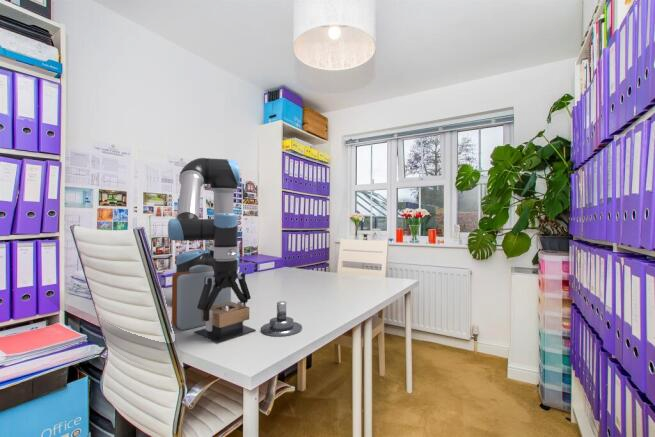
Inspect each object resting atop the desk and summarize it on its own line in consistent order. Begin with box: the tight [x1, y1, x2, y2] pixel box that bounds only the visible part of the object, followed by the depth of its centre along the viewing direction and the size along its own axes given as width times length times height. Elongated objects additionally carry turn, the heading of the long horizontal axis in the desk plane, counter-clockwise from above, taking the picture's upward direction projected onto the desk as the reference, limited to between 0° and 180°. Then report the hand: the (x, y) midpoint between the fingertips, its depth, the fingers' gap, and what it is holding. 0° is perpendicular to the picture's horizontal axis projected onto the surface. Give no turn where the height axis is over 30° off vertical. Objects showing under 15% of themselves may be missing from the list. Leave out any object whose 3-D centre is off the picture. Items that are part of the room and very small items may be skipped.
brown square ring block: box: [201, 301, 250, 328], centre depth 104 cm, size 11×11×4 cm
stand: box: [194, 305, 257, 344], centre depth 104 cm, size 14×14×8 cm
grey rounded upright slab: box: [171, 265, 232, 331], centre depth 113 cm, size 18×9×21 cm, turn 134°
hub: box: [260, 300, 303, 338], centre depth 107 cm, size 14×14×9 cm
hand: (225, 325), depth 104 cm, fingers closed on brown square ring block, 11 cm apart
